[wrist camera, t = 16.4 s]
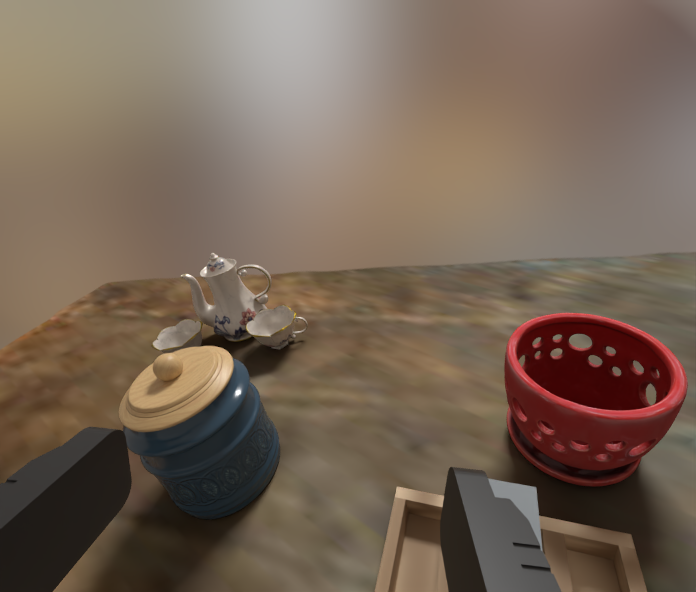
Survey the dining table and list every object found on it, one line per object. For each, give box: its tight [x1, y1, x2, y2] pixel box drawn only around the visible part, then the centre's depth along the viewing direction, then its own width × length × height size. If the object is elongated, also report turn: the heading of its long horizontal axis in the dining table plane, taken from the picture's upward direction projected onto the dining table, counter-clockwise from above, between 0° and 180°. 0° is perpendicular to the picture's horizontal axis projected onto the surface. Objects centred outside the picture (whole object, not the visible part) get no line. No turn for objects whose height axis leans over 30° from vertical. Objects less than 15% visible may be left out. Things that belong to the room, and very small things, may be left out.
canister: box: [119, 346, 280, 519], centre depth 38 cm, size 13×13×18 cm
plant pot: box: [505, 313, 688, 487], centre depth 34 cm, size 13×13×12 cm
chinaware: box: [152, 253, 308, 354], centre depth 62 cm, size 28×17×17 cm, turn 92°
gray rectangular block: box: [488, 479, 543, 551], centre depth 23 cm, size 4×6×13 cm, turn 161°
